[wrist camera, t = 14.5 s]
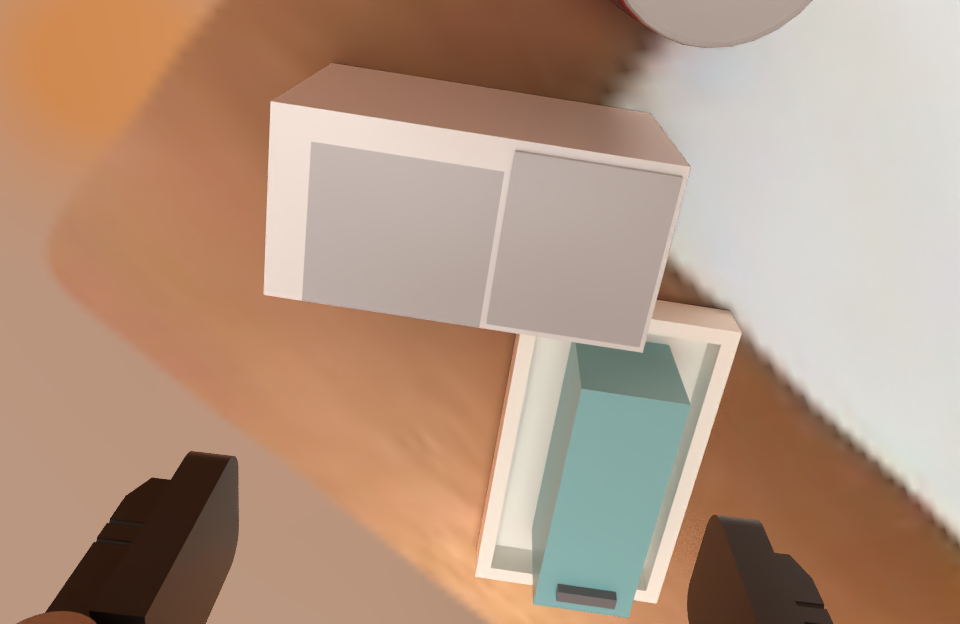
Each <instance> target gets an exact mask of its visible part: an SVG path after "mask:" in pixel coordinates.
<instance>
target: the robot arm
mask: <svg viewBox="0 0 960 624" xmlns="http://www.w3.org/2000/svg"><path fill="white" fill-rule="evenodd" d="M238 529H239V508H238V461H237V458H236V457H235V456H228V455H219V454H211V453H202V452H194V451H190V452H189V453H188V454H187V455H186V457H185V458H184V460H183V461H182V463H181V464H180V466H179V468H178V469H177V471H176V472H175V474H174V476H173V477H172V479H171V480H167V479H159V478H151V479H149V480H148V481H147V482H145V483H144V484H142V485H141V486H139V487H138V488H137V489H135V490H134V491H132V492H131V493H129V494H128V495H126V496H125V498H124V499H123V501H122V502H121V504H120V505H119V506H118V508H117V509H116V511H115V512H114V514H113V515H112V517H111V518H110V522H109V523H107V524H106V526H105V527H104V528H103V530H102V531H101V533H100V534H99V535H98V537H97V541H96V542H94V543H93V544H92V546H91V547H90V549H89V550H88V551H87V553H86V554H85V556H84V557H83V559H82V560H81V562H80V563H79V564H78V566H77V567H76V569H75V570H74V572H73V573H72V575H71V576H70V577H69V579H68V580H67V582H66V583H65V585H64V586H63V588H62V589H61V591H60V592H59V593H58V595H57V596H56V598H55V599H54V601H53V602H52V604H51V605H50V606H49V608H48V609H47V611H46V612H45V613H42V614H39V615H35V616H32V617H30V618H27V619H25V620H22V621H20V622H18V623H17V624H206V622H207V619H208V617H209V615H210V612H211V610H212V608H213V606H214V603H215V601H216V599H217V597H218V595H219V592H220V590H221V588H222V586H223V583H224V581H225V579H226V576H227V574H228V572H229V570H230V567H231V565H232V562H233V559H234V555H235V551H236V546H237V541H238ZM687 611H688V620H689V624H833V622H832V620H831V618H830V615H829V613H828V611H827V609H824V603H823V601H822V599H821V596H820V594H819V592H818V590H817V588H816V586H815V584H814V582H813V579H812V578H811V577H810V576H809V575H808V574H807V573H806V572H805V571H804V570H803V569H802V568H801V566H800V565H799V564H798V563H797V562H796V561H795V560H794V559H793V558H792V557H791V556H790V555H788V554H779V553H774V551H773V549H772V546H771V544H770V542H769V539H768V537H767V535H766V532H765V530H764V528H763V526H762V524H761V523H760V521H758V520H753V519H745V518H736V517H728V516H719V515H713V516H712V517H711V518H710V519H709V521H708V524H707V527H706V530H705V534H704V537H703V540H702V544H701V547H700V550H699V553H698V557H697V560H696V563H695V567H694V570H693V573H692V577H691V580H690V584H689V589H688V598H687Z"/></svg>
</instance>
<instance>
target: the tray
mask: <svg viewBox="0 0 960 624" xmlns="http://www.w3.org/2000/svg"><path fill="white" fill-rule="evenodd" d="M741 334H742V332H741V331H740V329H739V327H738V325H737V323H736V322H735V320H734V318H733V316H732V315H731V313H730V311H727V310H721V309H714V308H708V307H701V306H695V305H688V304H682V303H676V302H669V301H663V300H656V304H655V307H654V311H653V315H652V319H651V323H650V327H649V330H648V334H647V338H646V342H652V343H659V344H666V345H669V346H670V349H671V352H672V355H673V357H674V360H675V363H676V366H677V368H678V371H679V374H680V377H681V379H682V382H683V385H684V388H685V390H686V393H687V396H688V398H689V401H690V404H691V406H690V410H689V413H688V416H687V420H686V423H685V427H684V430H683V433H682V437H681V440H680V444H679V447H678V450H677V454H676V457H675V461H674V464H673V467H672V471H671V474H670V478H669V481H668V484H667V488H666V491H665V495H664V498H663V501H662V505H661V508H660V512H659V515H658V518H657V522H656V525H655V529H654V532H653V535H652V539H651V542H650V546H649V549H648V552H647V556H646V559H645V563H644V566H643V569H642V573H641V576H640V580H639V583H638V587H637V590H636V593H635V597H634V600H637V601H644V602H650V603H657V600H658V597H659V594H660V591H661V588H662V584H663V581H664V578H665V575H666V572H667V569H668V565H669V562H670V559H671V556H672V553H673V550H674V546H675V543H676V540H677V537H678V534H679V530H680V527H681V524H682V521H683V518H684V515H685V511H686V508H687V505H688V502H689V499H690V496H691V492H692V489H693V486H694V483H695V480H696V477H697V473H698V470H699V467H700V464H701V461H702V458H703V454H704V451H705V448H706V445H707V442H708V438H709V435H710V432H711V429H712V426H713V423H714V419H715V416H716V413H717V410H718V407H719V404H720V400H721V397H722V394H723V391H724V388H725V385H726V381H727V378H728V375H729V372H730V369H731V366H732V362H733V359H734V356H735V353H736V350H737V346H738V343H739V340H740V337H741ZM570 347H571V342H569V341H563V340H556V339H550V338H543V337H537V336H530V335H524V334H517V333H516V338H515V344H514V349H513V354H512V360H511V365H510V371H509V376H508V382H507V387H506V392H505V398H504V403H503V409H502V414H501V420H500V425H499V430H498V436H497V441H496V447H495V452H494V458H493V463H492V468H491V474H490V479H489V485H488V490H487V495H486V501H485V506H484V512H483V517H482V523H481V528H480V533H479V539H478V544H477V555H476V568H475V577H481V578H488V579H494V580H501V581H508V582H515V583H522V584H528V585H533V569H532V525H533V520H534V516H535V511H536V506H537V502H538V497H539V492H540V488H541V483H542V478H543V473H544V469H545V464H546V459H547V455H548V450H549V445H550V441H551V436H552V431H553V427H554V422H555V417H556V413H557V408H558V403H559V398H560V394H561V389H562V384H563V380H564V375H565V370H566V366H567V361H568V356H569V352H570Z"/></svg>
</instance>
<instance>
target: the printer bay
mask: <svg viewBox="0 0 960 624" xmlns="http://www.w3.org/2000/svg"><path fill="white" fill-rule="evenodd" d="M690 169H691V166H690V165H689V164H688V162H687V161H686V160H685V158H684V157H683V156H682V154H681V153H680V152H679V150H678V149H677V148H676V147H675V145H674V144H673V143H672V141H671V140H670V139H669V137H668V136H667V135H666V133H665V132H664V131H663V129H662V128H661V127H660V125H659V124H658V123H657V121H656V120H655V119H654V117H653V116H652V115H651V113H645V112H639V111H633V110H626V109H620V108H614V107H607V106H601V105H595V104H588V103H582V102H576V101H569V100H563V99H557V98H550V97H544V96H538V95H531V94H525V93H519V92H512V91H506V90H500V89H493V88H487V87H481V86H475V85H468V84H462V83H456V82H449V81H443V80H437V79H430V78H424V77H418V76H411V75H405V74H399V73H392V72H386V71H380V70H373V69H367V68H361V67H354V66H348V65H342V64H335V63H331V64H329V65H328V66H326V67H325V68H323V69H321V70H320V71H318V72H317V73H315V74H313V75H312V76H310V77H309V78H307V79H305V80H304V81H302V82H301V83H299V84H297V85H296V86H294V87H293V88H291V89H289V90H288V91H286V92H285V93H283V94H282V95H280V96H278V97H277V98H275V99H274V100H272V101H271V109H270V137H269V164H268V191H267V219H266V246H265V273H264V295H268V296H275V297H281V298H288V299H295V300H301V301H308V302H314V303H321V304H327V305H334V306H340V307H347V308H353V309H360V310H367V311H373V312H380V313H386V314H393V315H399V316H406V317H412V318H419V319H425V320H432V321H438V322H445V323H452V324H458V325H465V326H471V327H478V328H484V329H491V330H497V331H504V332H510V333H517V334H524V335H530V336H537V337H543V338H550V339H556V340H563V341H569V342H576V343H582V344H589V345H595V346H602V347H609V348H615V349H622V350H628V351H635V352H641V353H643V350H644V346H645V342H646V338H647V334H648V330H649V327H650V323H651V319H652V315H653V311H654V307H655V304H656V300H657V296H658V292H659V288H660V284H661V281H662V277H663V273H664V269H665V265H666V261H667V258H668V254H669V250H670V246H671V242H672V238H673V235H674V231H675V227H676V223H677V219H678V215H679V212H680V208H681V204H682V200H683V196H684V192H685V189H686V185H687V181H688V177H689V173H690Z"/></svg>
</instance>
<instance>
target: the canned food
mask: <svg viewBox="0 0 960 624" xmlns="http://www.w3.org/2000/svg"><path fill="white" fill-rule="evenodd" d="M611 1H612V2H613V3H614V4H615V5H616V6H618V7H619V8H621V9H622V10H623V11H625V12H626V13H627V14H629V15H630V16H632V17H633V18H634V19H636V20H637V21H639V22H640V23H641V24H643V25H644V26H646V27H647V28H649V29H650V30H652V31H653V32H655V33H656V34H659V35H660V36H662V37H665V38H667V39H670V40H672V41H675V42H677V43H680V44H683V45H689V46H695V47H702V48H714V47H731V46H735V45H739V44H743V43H746V42H750V41H754V40H756V39H758V38H761V37H763V36H765V35H767V34H769V33H771V32H773V31H775V30H777V29H779V28H780V27H782V26H783V25H784V24H786V23H787V22H788V21H790V20H791V19H793V18H794V17H795V16H797V15H798V14H799V13H800V12H801V11H802V10H803V9H804V8H805V7H806V6H807V5H808V4H809V3H810V2H811V1H812V0H611Z"/></svg>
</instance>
